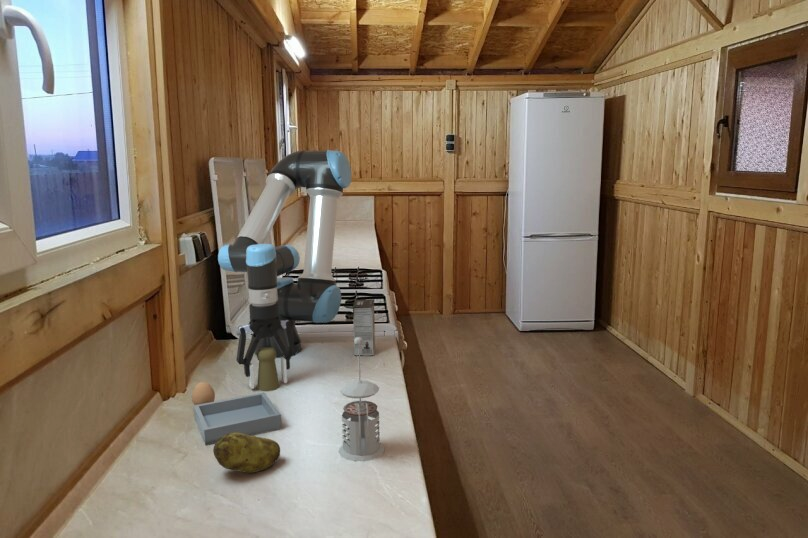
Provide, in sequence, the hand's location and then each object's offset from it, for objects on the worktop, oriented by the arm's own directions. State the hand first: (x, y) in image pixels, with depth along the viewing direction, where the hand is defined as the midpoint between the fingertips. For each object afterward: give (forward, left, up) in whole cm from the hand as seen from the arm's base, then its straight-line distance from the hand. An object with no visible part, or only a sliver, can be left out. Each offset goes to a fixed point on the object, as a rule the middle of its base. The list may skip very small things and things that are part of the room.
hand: (268, 384), depth 167 cm
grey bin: (+12, +19, -1) cm, 23 cm away
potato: (+15, +42, -1) cm, 45 cm away
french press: (-8, +46, -1) cm, 47 cm away
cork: (0, 0, -1) cm, 1 cm away
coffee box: (-35, -15, -1) cm, 38 cm away
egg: (+18, +7, -1) cm, 19 cm away
